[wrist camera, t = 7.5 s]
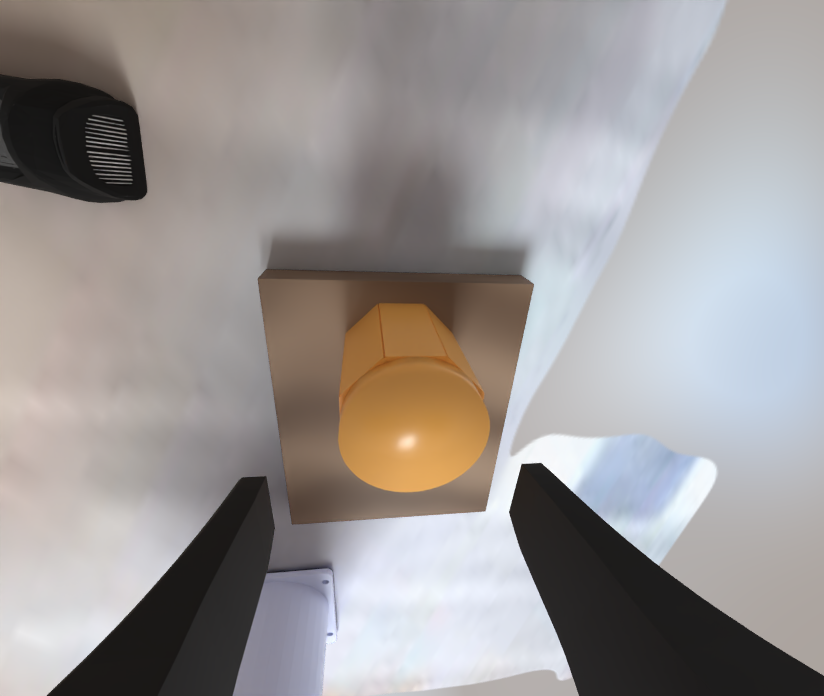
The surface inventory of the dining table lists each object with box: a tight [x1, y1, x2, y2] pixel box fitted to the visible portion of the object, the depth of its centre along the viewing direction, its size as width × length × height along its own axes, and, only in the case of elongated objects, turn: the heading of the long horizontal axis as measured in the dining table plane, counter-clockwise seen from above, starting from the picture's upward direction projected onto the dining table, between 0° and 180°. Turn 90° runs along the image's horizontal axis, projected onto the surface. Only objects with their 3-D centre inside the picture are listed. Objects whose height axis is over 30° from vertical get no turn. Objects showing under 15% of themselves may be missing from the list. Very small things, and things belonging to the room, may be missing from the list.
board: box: [258, 269, 534, 525], centre depth 18 cm, size 15×12×6 cm
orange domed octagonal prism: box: [338, 303, 490, 492], centre depth 14 cm, size 5×5×6 cm
